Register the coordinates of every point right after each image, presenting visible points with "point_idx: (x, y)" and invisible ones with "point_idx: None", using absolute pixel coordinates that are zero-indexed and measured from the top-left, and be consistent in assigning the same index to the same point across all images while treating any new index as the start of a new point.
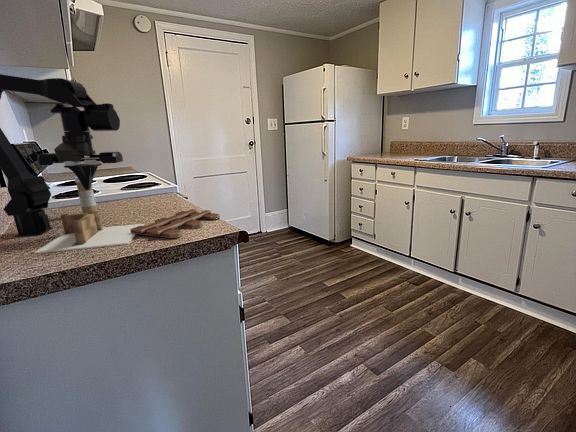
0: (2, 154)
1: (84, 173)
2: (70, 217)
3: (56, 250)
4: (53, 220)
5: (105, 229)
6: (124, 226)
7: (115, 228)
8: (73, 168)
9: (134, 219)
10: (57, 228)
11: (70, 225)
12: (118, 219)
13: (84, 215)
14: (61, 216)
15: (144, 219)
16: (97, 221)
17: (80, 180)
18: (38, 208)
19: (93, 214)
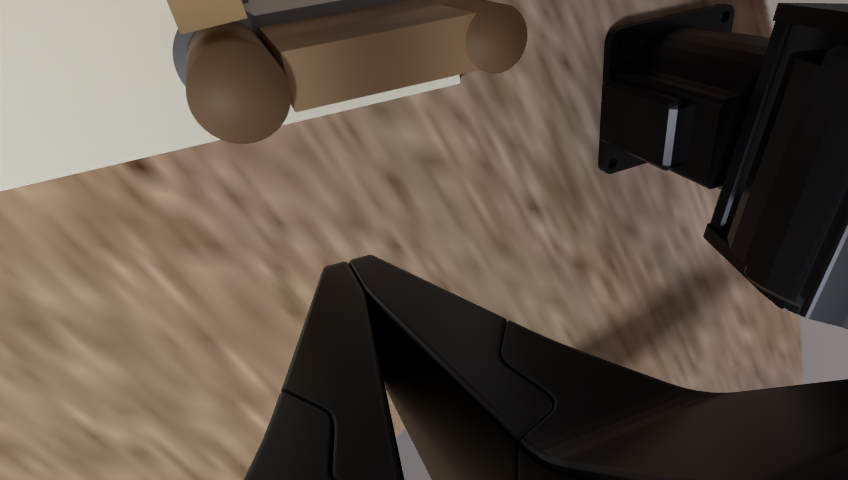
0: None
1: (387, 451)
2: (430, 19)
3: None
4: (654, 312)
5: (149, 70)
6: (7, 149)
7: (60, 92)
8: (756, 432)
9: (126, 366)
10: (570, 169)
11: (417, 8)
12: (271, 355)
13: (306, 46)
14: (506, 4)
15: (20, 373)
16: (188, 56)
17: (462, 309)
18: (743, 157)
19: (171, 11)
